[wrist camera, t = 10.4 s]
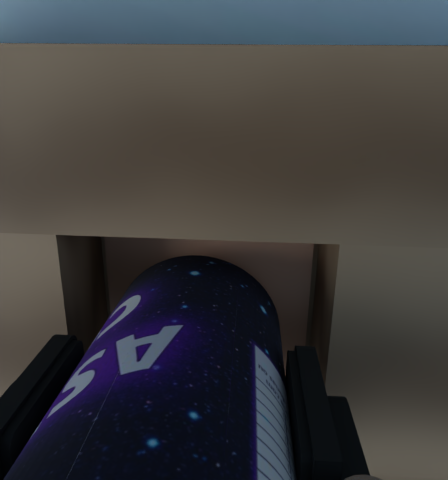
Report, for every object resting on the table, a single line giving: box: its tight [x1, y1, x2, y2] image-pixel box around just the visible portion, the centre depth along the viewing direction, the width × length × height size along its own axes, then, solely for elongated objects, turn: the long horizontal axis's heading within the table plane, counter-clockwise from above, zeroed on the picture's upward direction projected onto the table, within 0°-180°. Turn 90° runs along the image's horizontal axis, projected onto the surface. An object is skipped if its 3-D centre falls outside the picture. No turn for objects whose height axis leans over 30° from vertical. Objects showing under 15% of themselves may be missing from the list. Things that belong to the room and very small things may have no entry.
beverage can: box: [3, 255, 297, 480], centre depth 10 cm, size 6×6×12 cm
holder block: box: [0, 43, 448, 480], centre depth 15 cm, size 18×18×4 cm
